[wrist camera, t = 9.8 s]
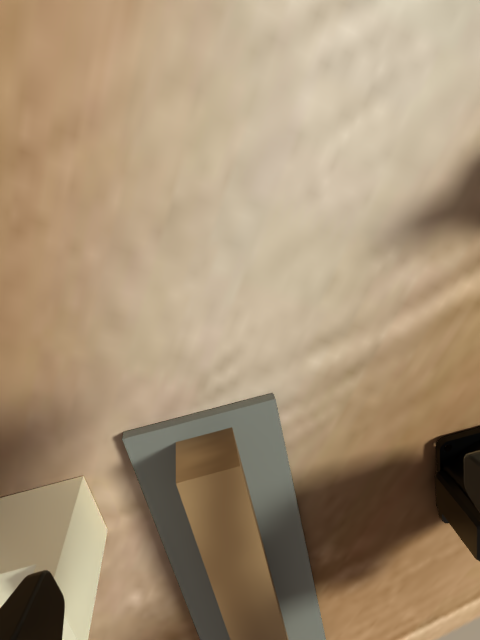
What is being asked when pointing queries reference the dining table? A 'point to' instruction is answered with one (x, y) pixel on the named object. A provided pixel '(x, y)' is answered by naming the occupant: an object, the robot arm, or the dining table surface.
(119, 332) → the dining table surface
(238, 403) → the mat
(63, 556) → the post
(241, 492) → the rail
